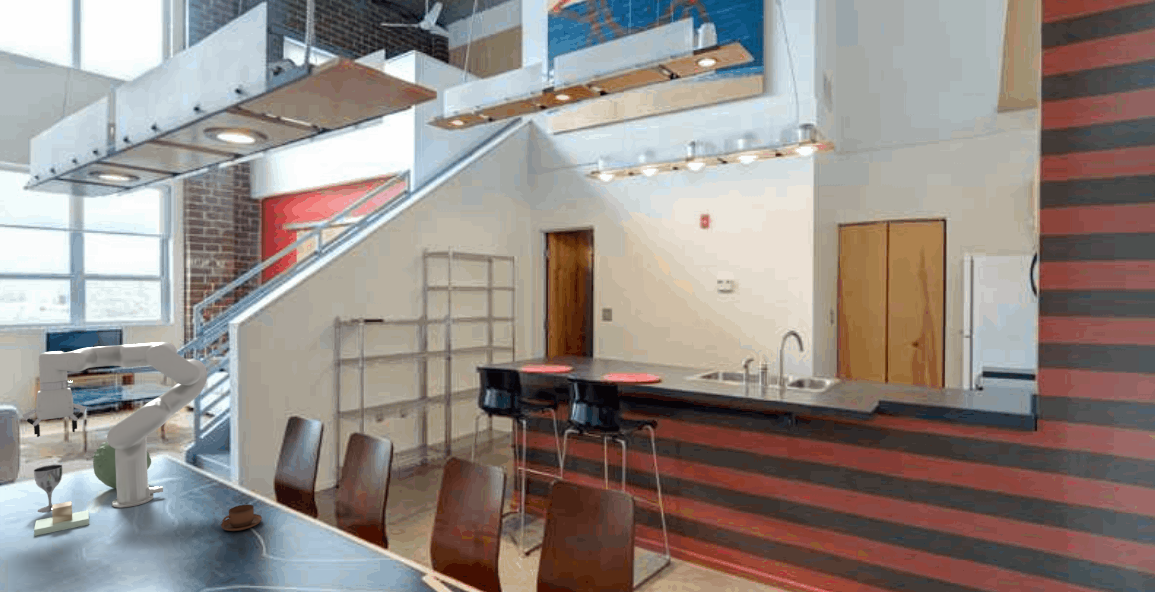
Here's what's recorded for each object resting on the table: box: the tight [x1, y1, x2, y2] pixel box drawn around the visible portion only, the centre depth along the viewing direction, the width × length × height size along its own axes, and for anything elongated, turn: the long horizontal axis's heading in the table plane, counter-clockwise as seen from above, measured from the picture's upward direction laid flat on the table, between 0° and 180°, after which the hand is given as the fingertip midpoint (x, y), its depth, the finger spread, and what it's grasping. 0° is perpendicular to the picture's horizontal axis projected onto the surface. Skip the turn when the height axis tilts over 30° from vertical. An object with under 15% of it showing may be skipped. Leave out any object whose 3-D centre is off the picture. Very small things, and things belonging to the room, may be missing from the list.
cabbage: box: [91, 441, 152, 489], centre depth 247 cm, size 16×19×20 cm
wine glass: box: [33, 464, 64, 513], centre depth 225 cm, size 8×8×15 cm
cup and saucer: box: [220, 504, 263, 532], centre depth 207 cm, size 12×12×6 cm
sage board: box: [33, 509, 90, 537], centre depth 210 cm, size 14×10×2 cm
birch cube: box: [51, 500, 73, 524], centre depth 210 cm, size 5×5×5 cm
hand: (56, 433), depth 221 cm, fingers open, 9 cm apart
